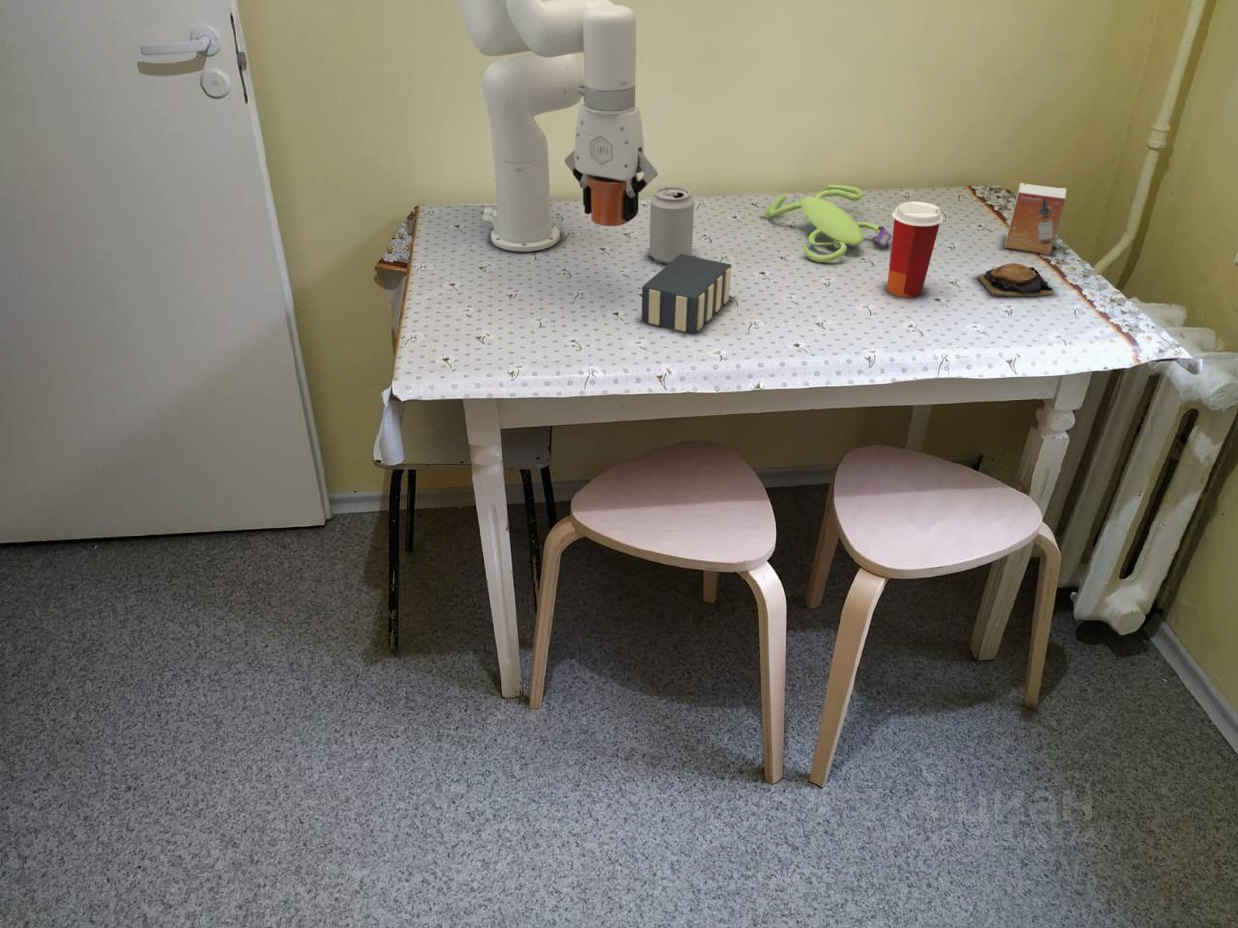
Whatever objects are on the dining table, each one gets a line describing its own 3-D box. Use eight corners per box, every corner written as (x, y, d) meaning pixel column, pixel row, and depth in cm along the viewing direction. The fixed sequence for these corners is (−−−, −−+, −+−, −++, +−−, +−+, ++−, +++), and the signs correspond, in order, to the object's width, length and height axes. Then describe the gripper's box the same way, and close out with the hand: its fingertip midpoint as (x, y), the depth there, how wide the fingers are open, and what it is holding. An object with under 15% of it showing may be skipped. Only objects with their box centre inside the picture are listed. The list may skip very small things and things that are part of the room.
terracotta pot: (578, 222, 156) (577, 178, 151) (601, 207, 161) (600, 164, 157) (620, 231, 153) (620, 186, 149) (641, 215, 158) (642, 171, 154)
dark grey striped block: (640, 322, 155) (641, 287, 151) (678, 287, 165) (680, 253, 162) (695, 335, 151) (696, 299, 148) (730, 299, 162) (733, 264, 158)
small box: (1003, 248, 179) (1017, 192, 173) (1006, 237, 183) (1019, 181, 177) (1050, 255, 176) (1066, 198, 170) (1052, 244, 181) (1067, 187, 174)
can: (688, 267, 172) (691, 200, 165) (645, 264, 173) (647, 197, 166) (694, 250, 178) (697, 185, 171) (653, 247, 179) (654, 182, 172)
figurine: (846, 204, 197) (850, 176, 194) (909, 257, 176) (914, 227, 172) (758, 212, 193) (761, 183, 190) (811, 266, 172) (815, 236, 169)
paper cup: (930, 284, 166) (946, 203, 158) (926, 303, 161) (942, 220, 152) (882, 277, 169) (896, 197, 160) (877, 296, 163) (890, 214, 155)
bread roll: (991, 299, 162) (996, 278, 160) (974, 277, 169) (979, 256, 167) (1055, 297, 163) (1061, 276, 160) (1036, 275, 169) (1041, 255, 167)
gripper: (546, 96, 147) (551, 213, 157) (651, 112, 140) (649, 232, 150) (571, 85, 152) (574, 198, 162) (673, 99, 146) (670, 216, 156)
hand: (610, 214), depth 156 cm, fingers closed on terracotta pot, 6 cm apart
